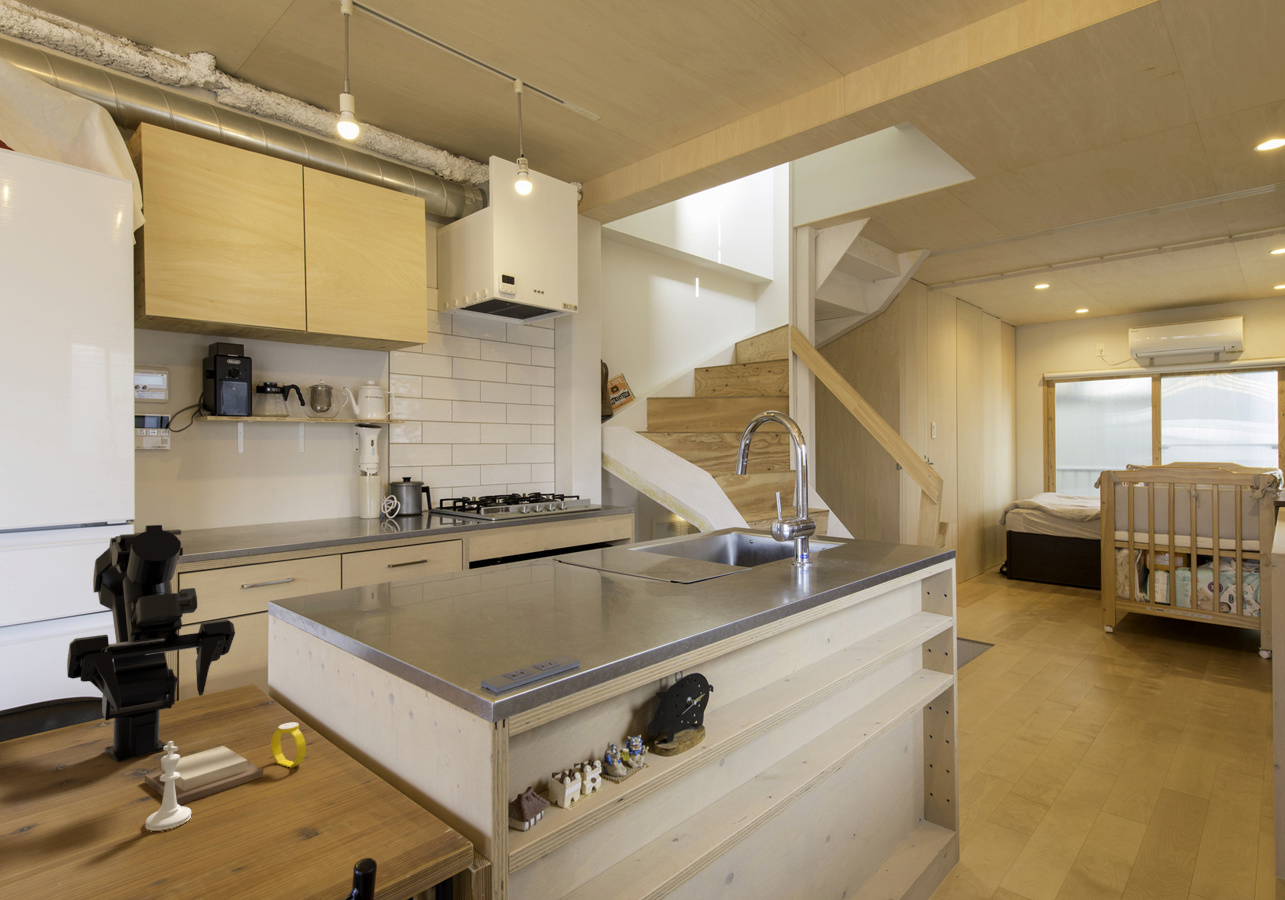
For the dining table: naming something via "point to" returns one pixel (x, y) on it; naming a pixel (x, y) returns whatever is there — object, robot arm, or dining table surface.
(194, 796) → the build base
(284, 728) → the watch
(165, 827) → the chess piece
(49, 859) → the dining table surface
